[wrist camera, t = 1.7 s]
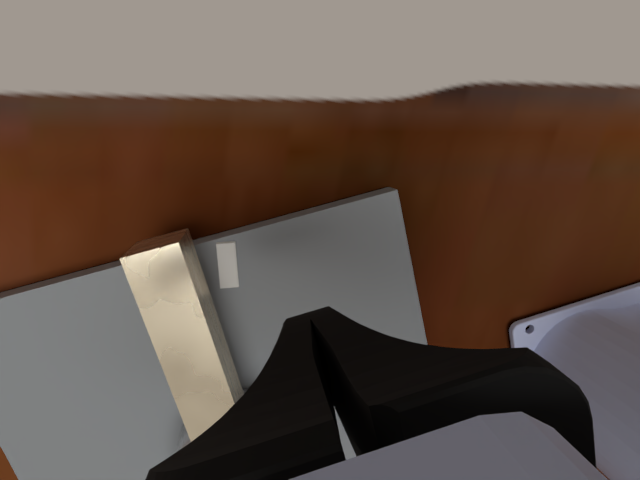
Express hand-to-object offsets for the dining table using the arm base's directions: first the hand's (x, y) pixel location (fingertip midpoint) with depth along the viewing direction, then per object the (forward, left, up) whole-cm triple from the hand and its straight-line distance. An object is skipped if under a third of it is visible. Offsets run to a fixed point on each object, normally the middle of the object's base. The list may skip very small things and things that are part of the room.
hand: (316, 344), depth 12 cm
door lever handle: (+5, +4, -8) cm, 10 cm away
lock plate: (+4, +8, -9) cm, 13 cm away
